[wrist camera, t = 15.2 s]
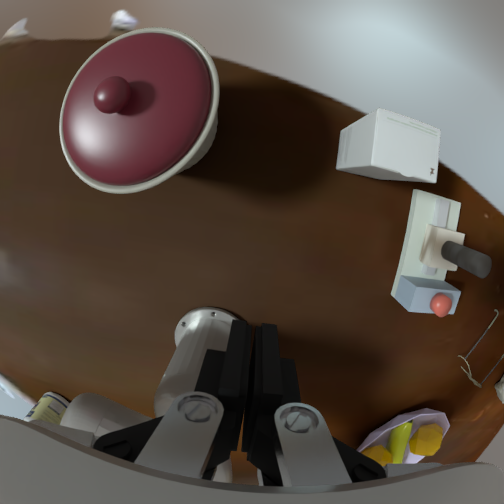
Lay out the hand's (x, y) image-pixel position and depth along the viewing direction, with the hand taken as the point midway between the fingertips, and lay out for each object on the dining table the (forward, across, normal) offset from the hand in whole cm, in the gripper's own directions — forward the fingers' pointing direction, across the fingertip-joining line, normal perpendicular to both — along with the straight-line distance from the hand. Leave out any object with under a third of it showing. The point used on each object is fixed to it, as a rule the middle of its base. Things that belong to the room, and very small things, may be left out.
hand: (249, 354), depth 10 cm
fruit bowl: (+32, -42, +47) cm, 71 cm away
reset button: (+25, -29, +6) cm, 39 cm away
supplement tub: (+32, +46, +54) cm, 78 cm away
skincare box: (+32, -14, -13) cm, 38 cm away
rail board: (+32, -29, -1) cm, 43 cm away
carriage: (+30, -29, -2) cm, 42 cm away
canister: (+32, +14, -13) cm, 38 cm away
